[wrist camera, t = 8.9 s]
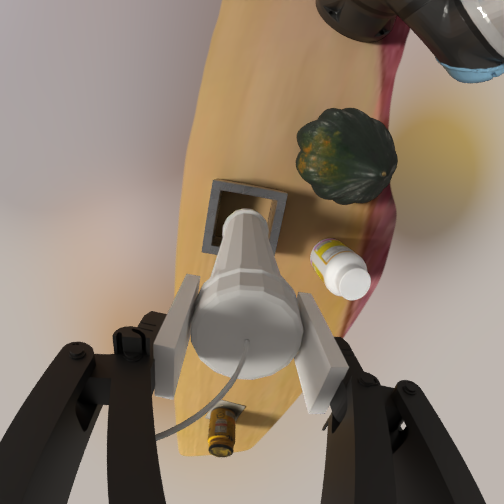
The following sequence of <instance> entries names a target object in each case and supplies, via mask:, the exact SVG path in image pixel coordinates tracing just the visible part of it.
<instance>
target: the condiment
mask: <svg viewBox="0 0 504 504" xmlns="http://www.w3.org/2000/svg"><path fill="white" fill-rule="evenodd" d="M221 405H223V406H221ZM244 408H245V406H242V405H238V404H235V403H231V402H228V401H223V400H220V401H219V402H218V403H217V404H216V405H215V406H214V407H213V408H212V409H211V410H209V412H208V413H207V415H206V417H205V418H207V419H210V423H209V434H208V443H209V453H210V454H212V455H214V456H216V457H227V456H230V455H232V453H233V446H234V444H235V422H236V420H237V418H238V417H239V415H240V414H241V413H242V411H243V410H244Z"/></svg>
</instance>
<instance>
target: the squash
mask: <svg viewBox="0 0 504 504" xmlns="http://www.w3.org/2000/svg"><path fill="white" fill-rule="evenodd" d="M297 142H298V145H299V147H300V149H301V151H300V152H299V154H298V156H297V158H296V168H297V170H298V172H299V174H300V175H301V177H302V178H303V179H304V180H305V181H306V182H308V183H309V184H311V185H312V188H313V190H314V192H315V193H316V194H317V195H318V196H319V197H321V198H323V199H327V200H333V201H335V202H336V203H338V204H342V205H348V204H352V203H367V202H369V201H371V200H373V199H375V198H376V197H377V196H378V195H379V194H380V193H381V192H382V190H383V189H384V188H385V187H387V186H388V184H389V183H390V180H391V178H392V175H393V173H394V172H395V169H396V167H397V162H398V160H397V154H396V151H395V146H394V142H393V139H392V136H391V134H390V132H389V131H388V130H387V128H386V127H385V126H384V124H382V123H381V122H380V121H378V120H376V119H373V118H370V117H369V116H368V115H367V114H365V113H364V112H362V111H360V110H358V109H355V108H345V109H342V110H341V109H336V108H330V109H327V110H325V111H324V112H323V113H322V114H321V115H320V116H319V118H318V120H315V121H312V122H310V123H308V124H306V125H305V126H303V127H302V128H301V129H300V130H299V131H298V133H297Z"/></svg>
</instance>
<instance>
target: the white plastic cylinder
mask: <svg viewBox="0 0 504 504" xmlns="http://www.w3.org/2000/svg"><path fill="white" fill-rule="evenodd" d="M268 234H269V229H268V226H267V222H266V220H265V219H264V218H263V217H262V215H261V214H259V213H258V212H256V211H254V210H253V209H246V208H242V209H239V210H236V211H234V212H233V213H232V214H231V215H230V216H229V217H227V219H226V221H225V223H224V225H223V234H222V236H223V239H222V242H221V245H220V249H219V252H218V255H217V258H216V261H215V265H214V268H213V271H212V274H211V277H210V279H208V280H207V281H206V282H205V283H204V284H203V286H202V288H201V290H200V292H199V294H198V296H197V298H196V300H195V303H194V314H193V317H192V320H191V342H192V345H193V346H194V348H195V350H196V352H197V354H198V356H199V358H200V360H201V361H203V362H204V363H205V364H206V365H207V366H209V367H210V368H211V369H212V370H213V371H215V372H217V373H220V374H222V375H225V376H228V377H230V378H231V379H230V380H229V382H228V383H227V384H226V386H225V387H224V388H223V389H222V390H221V392H220V393H219V394H218V395H217V396H216V397H215V398H214V399H213V400H212V401H211V402H210V403H209V404H208V405H206V406H205V407H204V408H203V409H201V410H200V411H199V412H197V413H196V414H195V415H193V416H192V417H190V418H188V419H187V420H185V421H184V422H182V423H180V424H178V425H176V426H175V427H172V428H170V429H168V430H166V431H164V432H161V433H159V434H156V435H155V438H156V441H157V440H160V439H163V438H165V437H168V436H170V435H172V434H174V433H176V432H178V431H180V430H182V429H184V428H185V427H187V426H189V425H190V424H192V423H193V422H195V421H196V420H198V419H199V418H201V417H202V416H203V415H205V414H206V413H207V412H208V411H209V410H211V409H212V408H213V407H214V406H215V405H216V404H217V403H218V402H219V401H220V400H221V399H222V398H223V397H224V396H225V394H226V393H227V392H228V391H229V389H230V388H231V387H232V386H233V384H234V382H235V381H236V379H251V380H253V379H257V378H262V377H266V376H270V375H273V374H274V373H276V372H277V371H279V370H281V369H282V368H284V367H285V366H287V365H288V364H289V363H290V362H291V360H292V359H293V358H294V356H295V355H296V354H297V352H298V351H299V349H300V346H301V341H302V336H303V332H304V329H303V325H302V321H301V318H300V309H299V305H298V302H297V298H296V295H295V292H294V290H293V289H292V287H291V286H290V285H289V284H288V283H287V282H286V281H285V279H284V278H283V277H282V276H281V275H280V272H279V269H278V266H277V263H276V260H275V257H274V254H273V251H272V248H271V245H270V242H269V239H268Z"/></svg>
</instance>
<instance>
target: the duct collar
mask: <svg viewBox="0 0 504 504" xmlns="http://www.w3.org/2000/svg"><path fill="white" fill-rule="evenodd" d="M222 191H229V192H235V193H241V194H246V195H252V196H257V197H262V198H268V199H272V203H271V208H270V213H269V218H268V223H267V226H268V229H269V234H268V239H269V242H270V245H271V248H272V251H273V254H274V256H275V251H276V247H277V242H278V237H279V233H280V228H281V224H282V219H283V214H284V210H285V205H286V200H287V195H288V194H287V193H285V192H283V191H281V190H276V189H271V188H266V187H261V186H256V185H250V184H245V183H239V182H234V181H228V180H222V179H215V180H213V183H212V189H211V195H210V201H209V207H208V213H207V220H206V226H205V233H204V240H203V246H202V252H203V253H209V254H215V255H218V252H219V249H220V245H221V242H222V239H223V237H219V236H215V233H216V226H217V220H218V214H219V208H220V203H221V197H222Z"/></svg>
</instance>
